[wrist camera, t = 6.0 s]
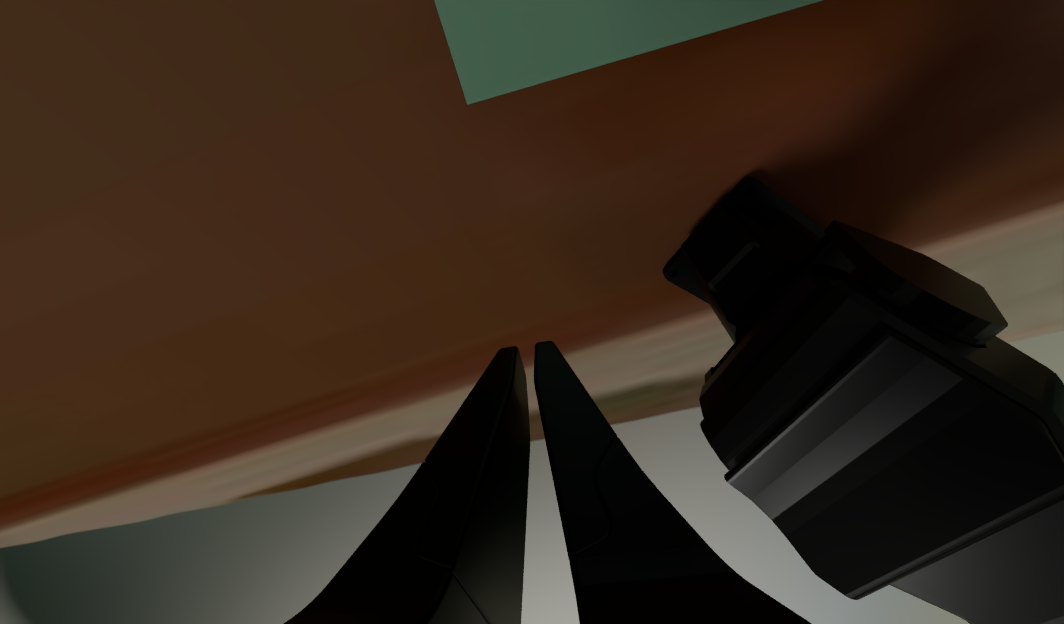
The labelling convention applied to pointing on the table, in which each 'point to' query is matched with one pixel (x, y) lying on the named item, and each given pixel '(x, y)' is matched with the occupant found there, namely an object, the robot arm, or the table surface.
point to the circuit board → (575, 34)
